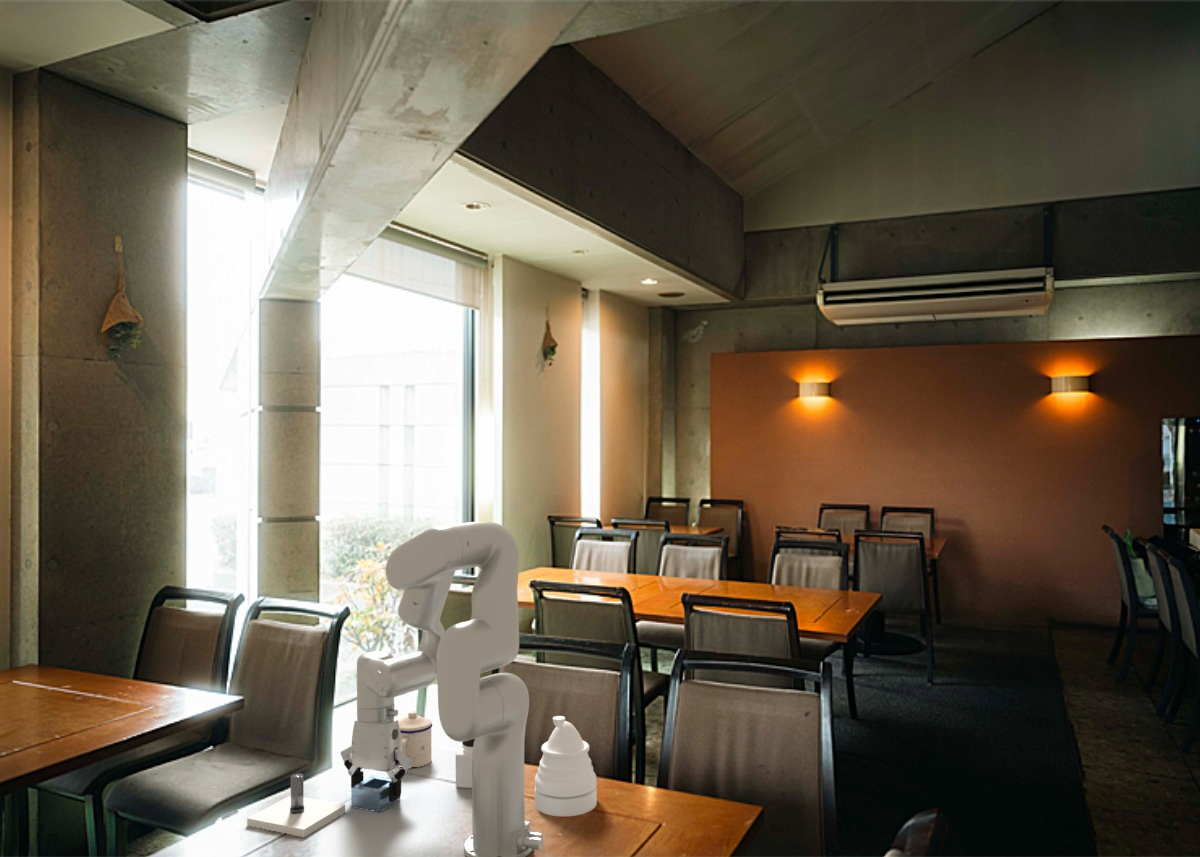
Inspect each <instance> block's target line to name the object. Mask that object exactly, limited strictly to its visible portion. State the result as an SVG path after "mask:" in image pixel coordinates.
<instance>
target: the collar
mask: <svg viewBox="0 0 1200 857" xmlns="http://www.w3.org/2000/svg"><path fill="white" fill-rule="evenodd" d="M389 782H391V779H390V777H385V776H379V775H371V776H370V777H369V776H368V778H366V779H363V781H362V782H360V783H358V784H357V785H355V786H353V787H351V786H350V787H351V789H350V790H351V791H350V792H351V793H350V794H351V795H350V796H351V797H350V798H351V800H350V801H351V804H350V805H351V808H353V807H357V808H356V809H359V808H362V809H361V810H364V809H368V810H367V811H370V810H374V811H373V812H375V811H381V810H382V811H384V810H386V809H387V808H389V807H390V806H392V805H393V804H395V803H396V802H398V801H399V800H401V797H400V798H398V799H399V800H398V799H396V800H395V801H396V802H395V801H393V802H390V801H389ZM397 800H398V801H397ZM394 802H395V803H394ZM392 803H393V804H392ZM391 804H392V805H391ZM389 805H390V806H389ZM388 806H389V807H388ZM386 807H387V808H386ZM383 809H384V810H383ZM382 811H381V812H382Z"/></svg>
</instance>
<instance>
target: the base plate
mask: <svg viewBox="0 0 1200 857" xmlns="http://www.w3.org/2000/svg"><path fill="white" fill-rule="evenodd" d="M290 808H291V794H290V795H288V796H286V797H284V798H282V799H281V800H278V801H277V802H275V803H273V804H271V805H269V806H268V807H265V808H264V809H262V810H260V811H258V812H256V813H255V814H253V815H250V816H249V817H246V821H247V822H246V826H247V827H250V826H253V827H252V828H255V827H256V829H260V828H262V829H261V830H264V829H266V831H269V830H271V832H274V831H277V832H276V833H279V832H281V833H280V834H284V833H287V834H286V835H289V834H291V835H290V836H295V837H301V838H305V837H307V836H309V835H310V834H312V833H314V832H315V831H317V830H319V829H320V828H322V827H323V826H325V825H327V824H329V823H330V822H333V819H334V820H336V819H337V818H338V816H339V817H340V816H342V815H344V814H345V813H346V804H343V803H336V802H332V801H326V800H322V799H315V798H309V797H305V796H304V811H303V812H302V813H299V814H292V813H291V812H290ZM344 812H345V813H344ZM343 813H344V814H343ZM341 814H342V815H341Z"/></svg>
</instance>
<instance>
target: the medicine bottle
mask: <svg viewBox="0 0 1200 857" xmlns="http://www.w3.org/2000/svg"><path fill="white" fill-rule="evenodd" d="M474 741H475V739H472V740H469V741H464V742H461V743H462V746H461V747H462V748H461V749H460V750H459V751H458V752H457V753H456V754H455V787H456V788H463V789H472V752H473V745H474Z"/></svg>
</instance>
